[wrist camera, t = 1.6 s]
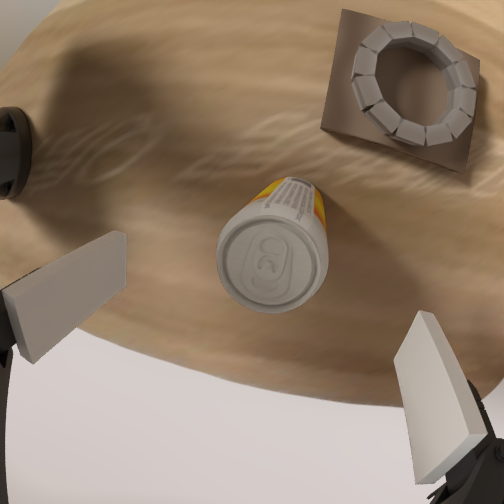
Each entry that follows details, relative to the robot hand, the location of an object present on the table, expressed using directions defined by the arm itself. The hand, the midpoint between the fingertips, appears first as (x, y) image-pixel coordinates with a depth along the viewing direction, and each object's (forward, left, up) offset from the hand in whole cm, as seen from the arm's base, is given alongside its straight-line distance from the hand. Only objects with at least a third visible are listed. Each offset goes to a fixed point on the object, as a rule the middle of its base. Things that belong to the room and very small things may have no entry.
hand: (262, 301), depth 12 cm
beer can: (0, 0, -18) cm, 18 cm away
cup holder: (+8, +14, -18) cm, 24 cm away
